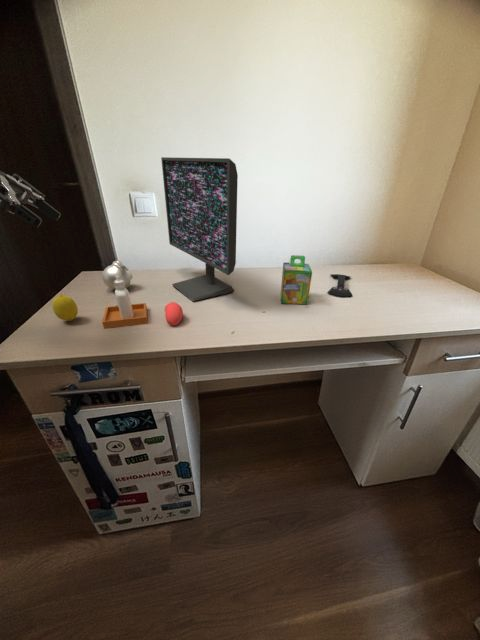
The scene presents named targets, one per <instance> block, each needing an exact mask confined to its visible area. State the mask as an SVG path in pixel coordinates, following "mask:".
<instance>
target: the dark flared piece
mask: <svg viewBox="0 0 480 640" xmlns="http://www.w3.org/2000/svg"><path fill="white" fill-rule="evenodd" d="M329 276H330V277H331V278H332V279H333V280H336V281H337V283H336V285H335V286H332V287H331V288H330V289H329V290H328V291H327V294H328V295H330V296H332V297H336V298H351V297H353V294H352V292H351V290H350V288H348V287H345V283H346V281H349V279H350V278H351V276H350V275H346V274H341V273H333V274H329Z"/></svg>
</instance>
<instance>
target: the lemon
mask: <svg viewBox="0 0 480 640" xmlns="http://www.w3.org/2000/svg"><path fill="white" fill-rule="evenodd" d="M51 305H52V310H53V313H54V315H55V316H56V317H57V318H59V319H60V320H63V321H67V322H73V320H74V319H75V318H76V317H77V316H78V314H79V308H78V305H77V303H76V301H75V300H74V299H73V298H72V297H70V296H68V295H65V294H58V295H57V296H56V297H55V298H53V301H52V303H51Z"/></svg>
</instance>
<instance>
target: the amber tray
mask: <svg viewBox="0 0 480 640" xmlns="http://www.w3.org/2000/svg"><path fill="white" fill-rule="evenodd" d="M131 305H132V309H133V313H134V317H133V318H126V319H122V318H121V315H120V311H119V307H118V305H110V306H105V308H104V314H103V317H102V321H101V323H102V326H103V329H111V328H112V329H113V328H120V327H128V326H129V327H130V326H136V325H144V324H148V306H147V302H142V303H131Z"/></svg>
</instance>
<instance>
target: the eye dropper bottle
mask: <svg viewBox="0 0 480 640" xmlns="http://www.w3.org/2000/svg"><path fill="white" fill-rule="evenodd" d="M114 284H115V288H116V290H114V296H115V300H116V303H117V306H118V307H119V311H120V315H121V318H122V319H126V318H133V317H134V313H133V309H132V305H131V304H132V301H131V296H130V293H129V290H128V288H125V284H124V281H123V280H121V279H120V277H119V276H116V281H114Z"/></svg>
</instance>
